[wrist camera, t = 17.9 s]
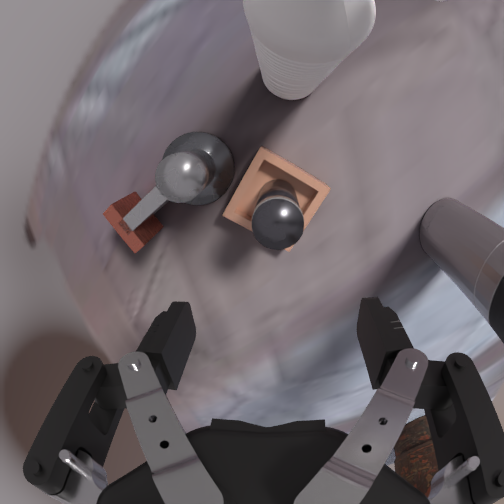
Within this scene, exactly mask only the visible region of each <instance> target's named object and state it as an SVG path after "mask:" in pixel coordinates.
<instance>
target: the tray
mask: <svg viewBox="0 0 504 504" xmlns="http://www.w3.org/2000/svg"><path fill="white" fill-rule="evenodd" d="M274 179H281V180H284V181H287V182H288V183H290V184H291V185H292V186H293V188H294V190H295V192H296V196H297V199H298V202H299V206H300V209H301V211H302V214H303V217H304V229H305V228H306V226H307V225H308V223H309V222H310V220H311V219H312V217H313V215H314V214H315V212H316V211H317V209H318V208H319V206H320V205H321V203H322V202H323V200H324V199H325V197H326V196H327V194H328V192H329V191H330V189H331V188H330V187H329V186H328V185H327V184H325V183H324V182H322V181H320V180H319V179H317V178H316V177H314V176H312V175H311V174H309V173H308V172H306V171H304V170H303V169H301V168H299V167H298V166H296V165H294V164H293V163H291V162H289V161H287V160H286V159H284V158H282V157H281V156H279V155H277V154H275V153H273V152H272V151H270V150H268V149H266V148H264V147H263V146H261V147H260V149H259V150H258V152H257V154H256V156H255V157H254V159H253V161H252V163H251V164H250V166H249V168H248V170H247V172H246V173H245V175H244V177H243V179H242V180H241V182H240V184H239V186H238V188H237V190H236V191H235V193H234V195H233V197H232V199H231V200H230V202H229V204H228V206H227V208H226V210H225V212H224V213H223V215H222V216H224V217H226V218H228V219H230V220H232V221H234V222H235V223H237V224H239V225H241V226H243V227H245V228H247V229H248V230H250V231H252V216H253V213H254V210H255V207H256V204H257V200H258V196H259V193H260V190H261V188H262V187H263V185H264V184H265V183H267V182H268V181H270V180H274ZM303 231H304V230H303ZM252 232H253V231H252ZM292 247H293V245H292V246H291V247H288V248H286V249H285V250H287V251H290V250H291V248H292Z"/></svg>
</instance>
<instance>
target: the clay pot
mask: <svg viewBox="0 0 504 504" xmlns="http://www.w3.org/2000/svg"><path fill="white" fill-rule="evenodd" d="M394 450H395V456H396V459H395V461H394V463H395V472H396V473H397V474H398V475H400V476H401V477H402V478H403V479H405V480H406V481H407V482H409V483H410V484H411V485H413V486H414V487H415V488H417V489H418V490H419V491H421V492H422V493H423V494H424V495H425V496H426V497H427V498H428V497H429V494H430V491H431V481H432V479H433V477H434V475H435V474H436V473H437V472H438V471H439V470H438V465H437V460H436V455H435V450H434V446H433V442H432V437H431V433H430V429H429V425H428V421H427V418H426V415H425V416H422V417H419V418H417V419H415V420H413V421H411V422H409V423H408V424H406V425H405V426H404V428H403V430H402V432H401V434H400V436H399V438H398V440H397V442H396V444H395V446H394Z"/></svg>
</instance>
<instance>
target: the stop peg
mask: <svg viewBox="0 0 504 504" xmlns="http://www.w3.org/2000/svg"><path fill="white" fill-rule="evenodd" d="M303 230H304V217H303V214H302V211H301V209H300V206H299V202H298V199H297V196H296V192H295V190H294V188H293V186H292V185H291V184H290V183H288V182H287V181H284V180H281V179H274V180H270V181H268V182H267V183H265V184H264V185H263V187H262V188H261V190H260V193H259V196H258V200H257V204H256V207H255V210H254V213H253V216H252V231H253V234H254V236H255V238H256V239H257V240H258V241H259V242H260V243H261V244H262V245H264V246H265V247H267V248H270V249H276V250H280V249H286V248H288V247H291V246H292V245H294V244H295V243H296V242H297V241H298V240H299V239H300V237H301V236H302V233H303Z"/></svg>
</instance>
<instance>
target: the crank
mask: <svg viewBox="0 0 504 504" xmlns="http://www.w3.org/2000/svg"><path fill="white" fill-rule="evenodd" d="M215 172H216V167H215V163H214V160H213V158H212V157H211V156H210V155H209V154H208V153H207V152H205V151H203V150H201V149H190V150H186V151H182V152H178V153H175V154H171V155H169V156H167V157H165V158H164V159H163V160H162V161H161V162H160V163H159V165H158V167H157V169H156V173H155V182H156V187H155V188H154V189H153V190H152V191H151V192H149V193H148V194H147V195H146V196H145V197H144V198H143V199H141V198H140V197H139V195H138V194H137V193H136V192H133V193H132V194H130V195H128V196H126V197H124V198H122V199H120V200H118V201H117V202H115V203H113V204H111V205H110V207H109V208H108V209H107V210H106V211H105V212H104V213H103V215H104V216H105V217H106V219H107V220H108V221H109V222H110V224H111V225H112V226H113V228H114V229H115V230H116V231H117V232H118V234H119V235H120V236H121V237H122V239H123V240H124V241H125V242H126V243H127V245H128V246H129V247H130V248H131V249H132V251H133V252H134V253H136V252H137V251H139V250H140V249H141V248H142V247H143V246H144V245H145V244H146V243H147V242H148V241H149V240H150V239H151V238H152V237H154V236H155V235H156V234H157V233H158V232H159V231H160V230H161V229H162V228H163V227H164V226H163V225H162V224H161V223H160V222H159V220H158V219H157V218H156V217H155V215H154V214H155V213H156V212H157V211H158V210H159V209H160V208H161V207H162V206H164V205H165V204H166V203H167V202H168V201H172V202H175V203H184V202H187V201H190V200H192V199H193V198H194V197H195V196H197V195H198V194H199V193H200V192H201V191H202V190H203V189H205V188H206V187H207V186H208V185H209V184H210V183H211V182H212V181H213V179H214V176H215Z"/></svg>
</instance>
